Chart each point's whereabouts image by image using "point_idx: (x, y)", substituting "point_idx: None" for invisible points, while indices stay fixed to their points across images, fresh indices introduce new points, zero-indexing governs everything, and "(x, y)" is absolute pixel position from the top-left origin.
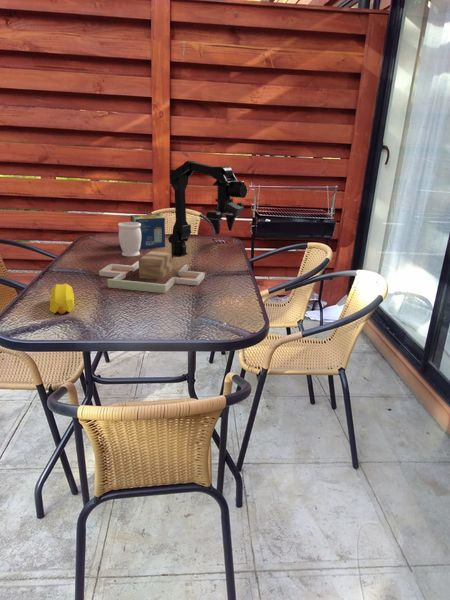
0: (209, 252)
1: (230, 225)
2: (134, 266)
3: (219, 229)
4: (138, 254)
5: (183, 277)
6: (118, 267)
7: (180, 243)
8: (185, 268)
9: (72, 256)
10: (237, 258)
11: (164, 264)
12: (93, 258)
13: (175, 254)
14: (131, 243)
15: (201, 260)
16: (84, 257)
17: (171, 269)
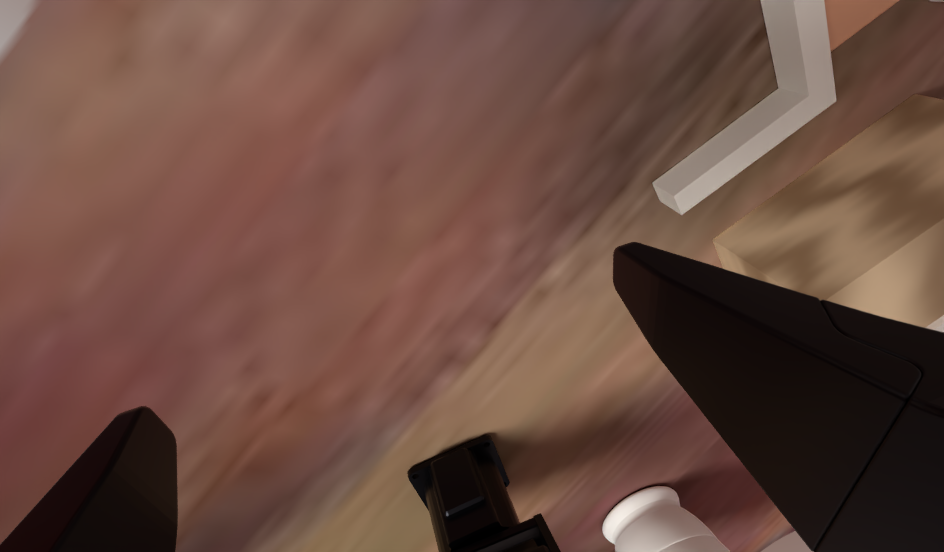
0: (230, 466)
1: (107, 548)
2: None
3: (706, 282)
4: (633, 498)
5: (835, 23)
6: None
7: (499, 524)
8: (741, 141)
9: (777, 524)
10: (36, 237)
11: (916, 176)
12: (761, 495)
13: (496, 462)
14: (715, 545)
15: (424, 322)
16: (767, 509)
17: (719, 235)
